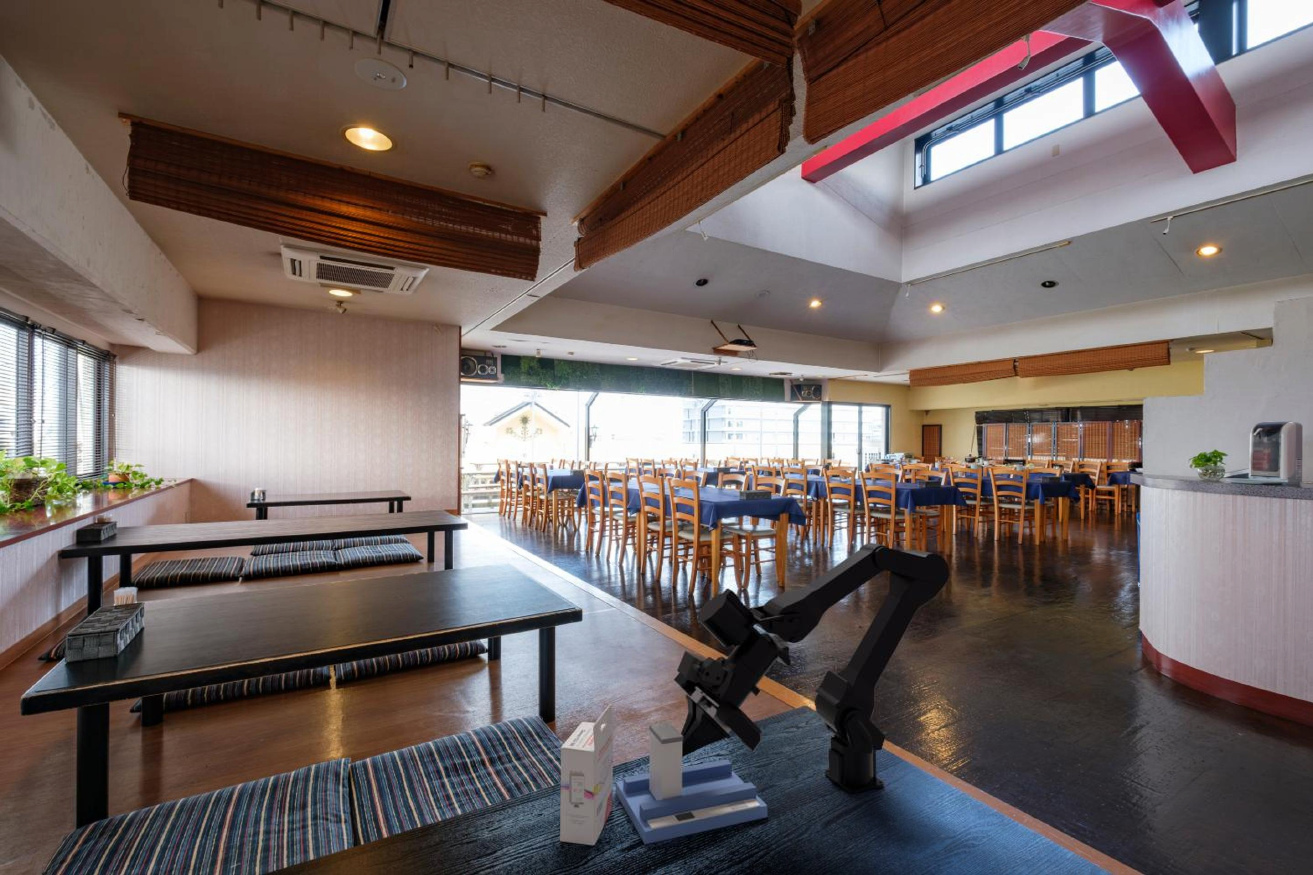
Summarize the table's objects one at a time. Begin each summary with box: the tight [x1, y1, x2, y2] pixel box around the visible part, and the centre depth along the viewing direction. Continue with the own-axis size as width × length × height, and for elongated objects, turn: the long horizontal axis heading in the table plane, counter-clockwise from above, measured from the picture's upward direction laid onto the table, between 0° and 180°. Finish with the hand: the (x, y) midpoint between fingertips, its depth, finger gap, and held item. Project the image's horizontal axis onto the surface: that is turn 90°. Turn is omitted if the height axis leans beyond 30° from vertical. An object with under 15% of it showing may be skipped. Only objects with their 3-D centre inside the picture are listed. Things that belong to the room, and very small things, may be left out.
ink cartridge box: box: [559, 703, 614, 846], centre depth 77 cm, size 9×5×15 cm, turn 168°
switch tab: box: [648, 721, 683, 801], centre depth 81 cm, size 3×5×9 cm, turn 21°
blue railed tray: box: [615, 759, 768, 845], centre depth 82 cm, size 18×13×3 cm
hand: (677, 754), depth 82 cm, fingers closed, pressing on switch tab
